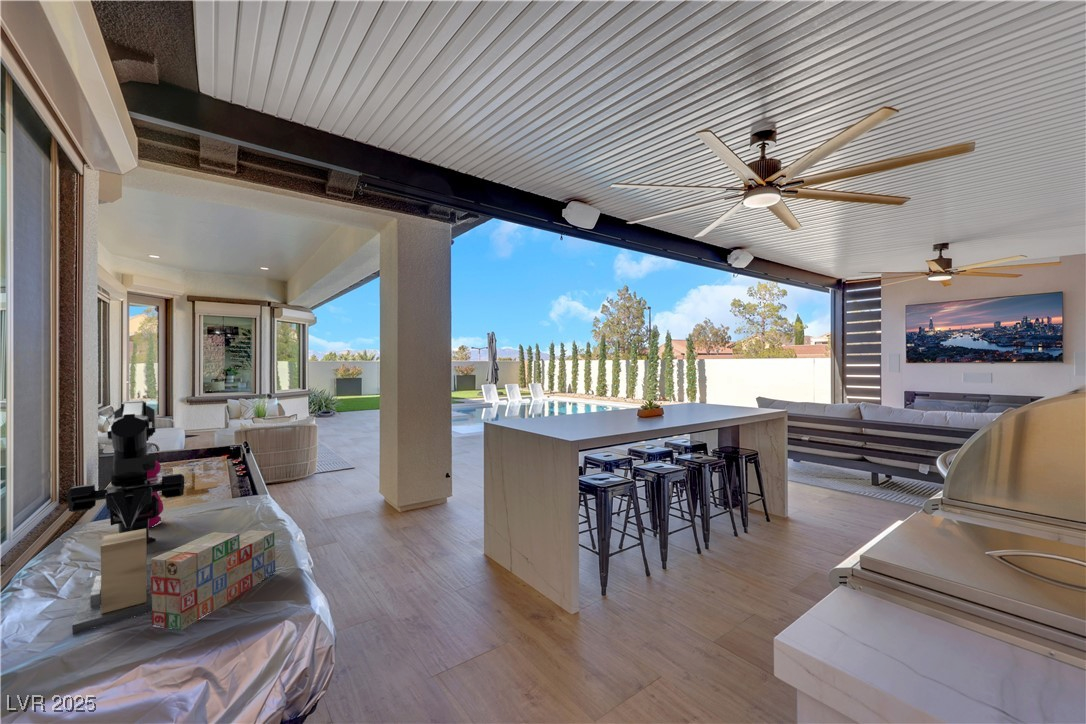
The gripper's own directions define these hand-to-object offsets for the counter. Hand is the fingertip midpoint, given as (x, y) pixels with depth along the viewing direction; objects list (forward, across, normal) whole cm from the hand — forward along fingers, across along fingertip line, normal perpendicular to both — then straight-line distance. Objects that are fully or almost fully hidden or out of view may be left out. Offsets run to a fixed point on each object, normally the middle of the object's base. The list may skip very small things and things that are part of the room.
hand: (128, 526), depth 96 cm
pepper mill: (-20, +3, +37) cm, 42 cm away
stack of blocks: (+23, +14, -6) cm, 27 cm away
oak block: (+17, 0, -3) cm, 17 cm away
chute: (+12, 0, +4) cm, 13 cm away
